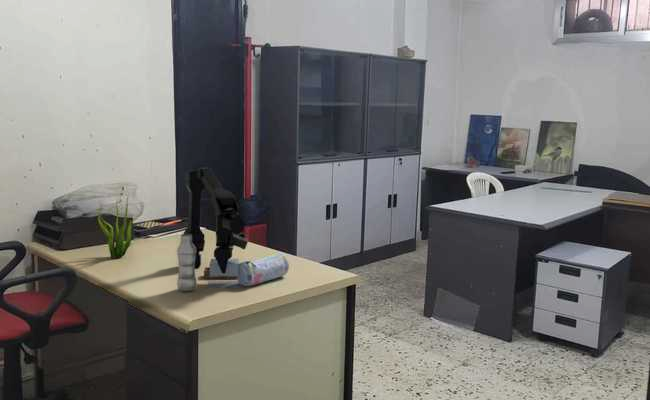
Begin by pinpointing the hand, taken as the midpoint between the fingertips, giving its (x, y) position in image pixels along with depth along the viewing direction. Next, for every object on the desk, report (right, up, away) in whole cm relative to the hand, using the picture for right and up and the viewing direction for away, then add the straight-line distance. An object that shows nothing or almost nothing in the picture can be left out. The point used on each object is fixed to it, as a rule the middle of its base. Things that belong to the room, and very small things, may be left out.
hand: (224, 270), depth 220 cm
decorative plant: (-49, +1, +36) cm, 61 cm away
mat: (0, -5, +1) cm, 6 cm away
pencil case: (+13, -5, +6) cm, 15 cm away
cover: (0, -1, 0) cm, 1 cm away
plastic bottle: (-12, -7, -7) cm, 15 cm away
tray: (-1, -4, +11) cm, 12 cm away
